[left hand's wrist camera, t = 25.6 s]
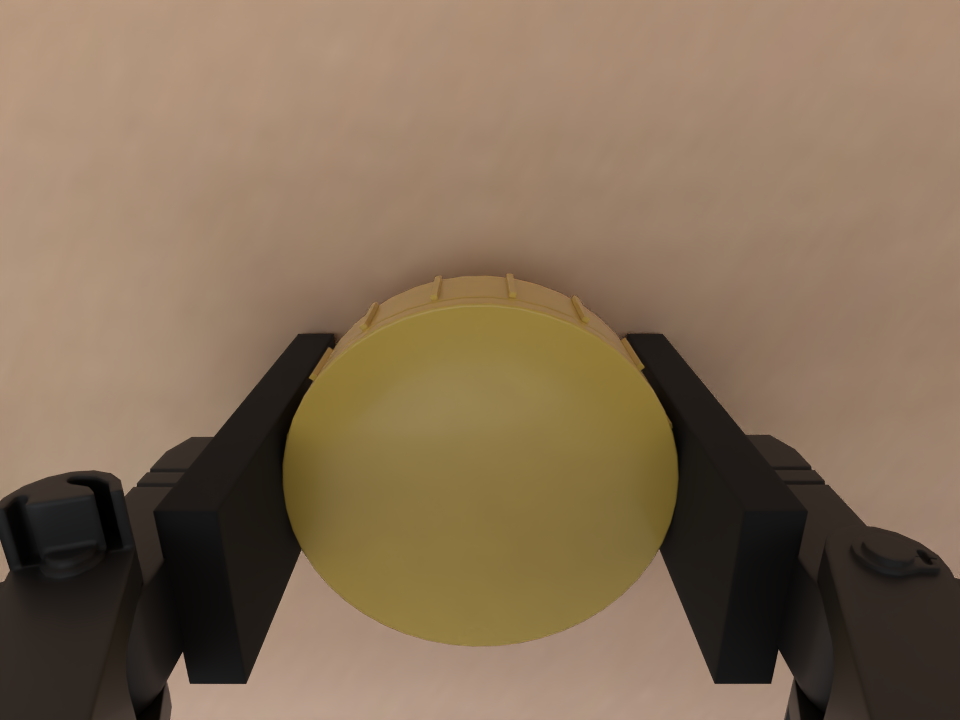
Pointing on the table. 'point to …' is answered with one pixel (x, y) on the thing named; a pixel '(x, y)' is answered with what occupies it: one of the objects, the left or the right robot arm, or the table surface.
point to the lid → (480, 463)
